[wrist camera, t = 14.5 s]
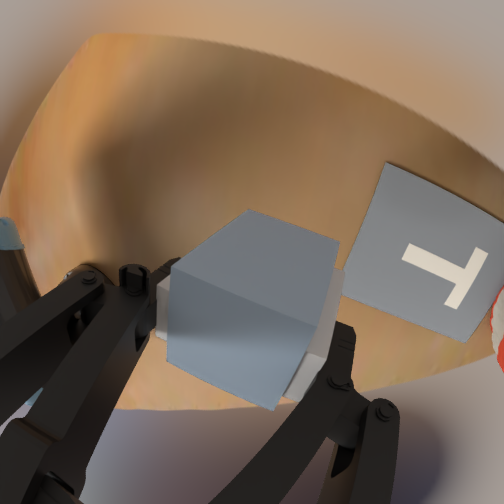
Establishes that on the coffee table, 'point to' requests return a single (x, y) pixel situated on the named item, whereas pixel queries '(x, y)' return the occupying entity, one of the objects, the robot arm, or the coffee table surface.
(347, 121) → the coffee table surface
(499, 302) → the toy
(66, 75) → the coffee table surface
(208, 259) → the block
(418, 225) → the letter card
